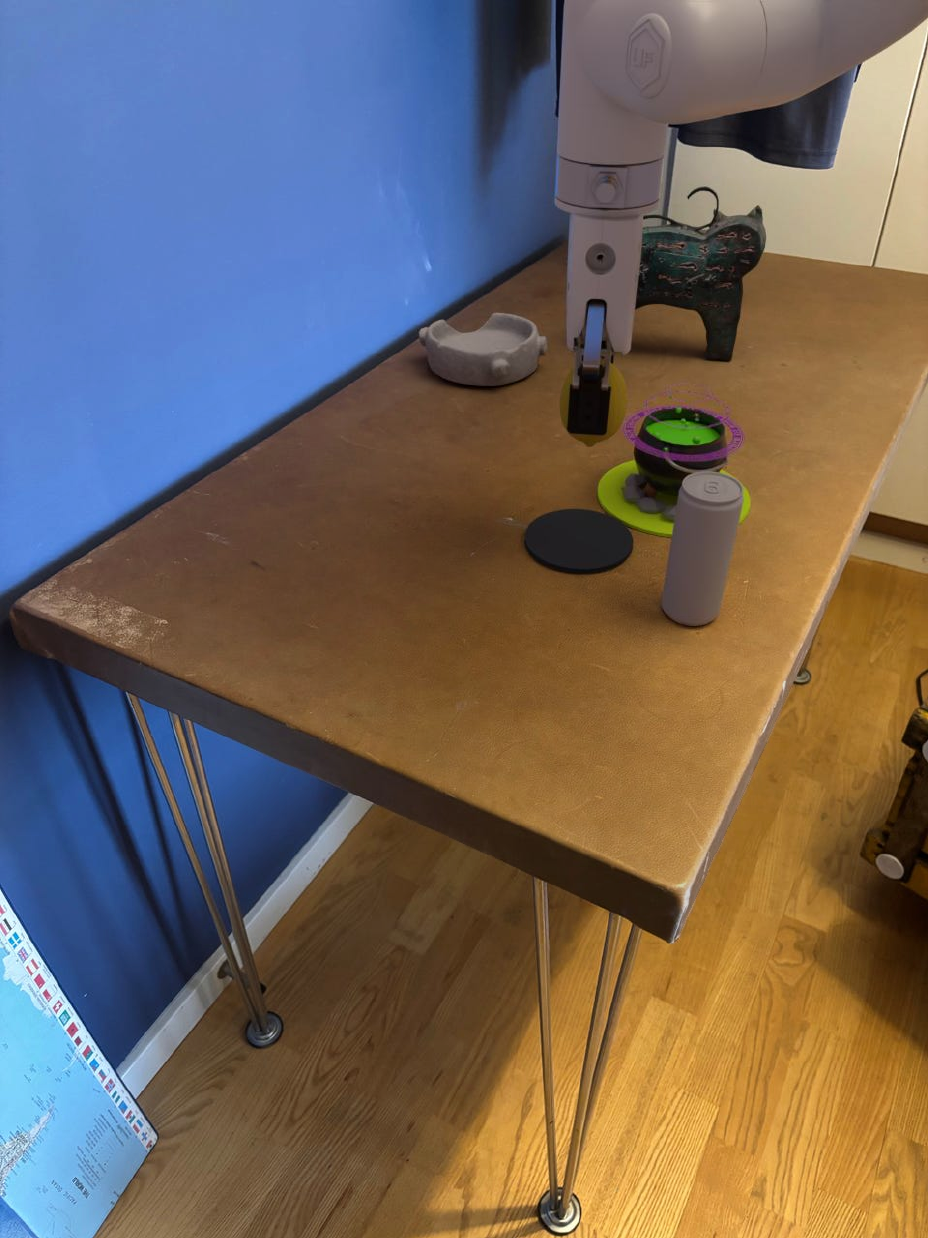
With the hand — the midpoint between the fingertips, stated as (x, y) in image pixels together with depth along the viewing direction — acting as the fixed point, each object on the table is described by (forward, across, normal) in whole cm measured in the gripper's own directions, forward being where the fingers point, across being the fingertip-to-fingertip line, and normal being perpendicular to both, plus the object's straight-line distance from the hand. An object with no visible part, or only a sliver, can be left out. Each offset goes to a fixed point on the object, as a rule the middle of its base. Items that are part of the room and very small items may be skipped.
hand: (589, 413), depth 76 cm
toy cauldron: (+13, +10, -9) cm, 18 cm away
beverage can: (+13, -9, -10) cm, 19 cm away
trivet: (+13, 0, 0) cm, 13 cm away
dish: (+13, +38, +14) cm, 42 cm away
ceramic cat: (+13, +46, -8) cm, 48 cm away
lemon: (+3, 0, 0) cm, 3 cm away
